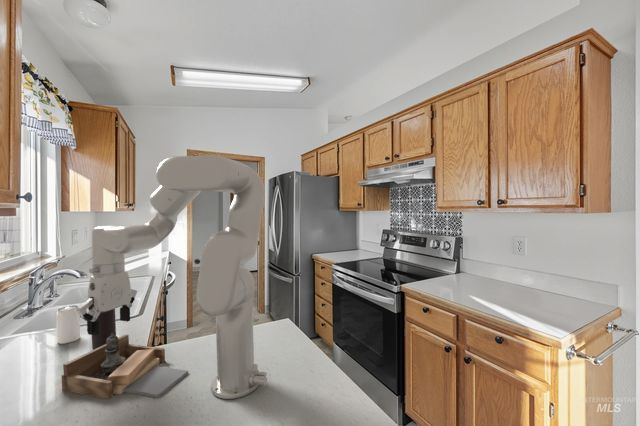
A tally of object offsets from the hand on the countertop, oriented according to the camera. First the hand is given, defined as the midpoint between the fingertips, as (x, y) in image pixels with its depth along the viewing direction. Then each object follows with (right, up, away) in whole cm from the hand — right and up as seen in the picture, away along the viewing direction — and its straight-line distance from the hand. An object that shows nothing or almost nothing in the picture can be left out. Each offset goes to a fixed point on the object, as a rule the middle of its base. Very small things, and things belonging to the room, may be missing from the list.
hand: (110, 327), depth 85 cm
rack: (+2, -14, 0) cm, 14 cm away
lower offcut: (+8, -14, -2) cm, 16 cm away
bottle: (-14, -14, +17) cm, 26 cm away
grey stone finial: (+1, -14, 0) cm, 14 cm away
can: (-31, -14, +23) cm, 41 cm away
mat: (+16, -13, -4) cm, 21 cm away
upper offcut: (+8, -12, -2) cm, 14 cm away
